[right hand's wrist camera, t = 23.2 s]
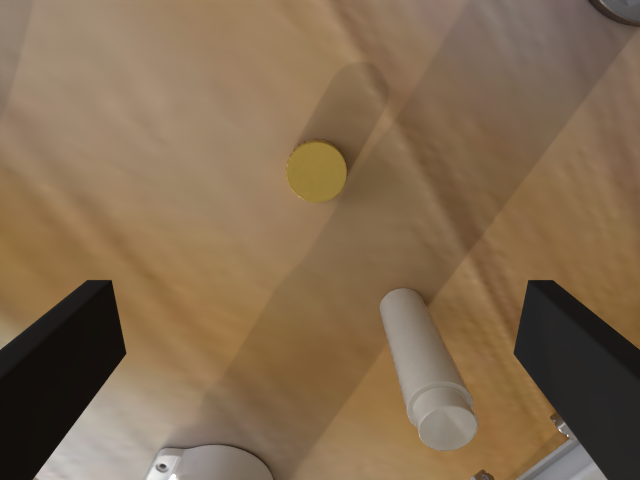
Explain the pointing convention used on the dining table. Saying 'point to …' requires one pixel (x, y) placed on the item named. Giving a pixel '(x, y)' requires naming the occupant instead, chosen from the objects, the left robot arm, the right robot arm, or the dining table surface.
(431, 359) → the bottle
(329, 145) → the lid
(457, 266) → the dining table surface
